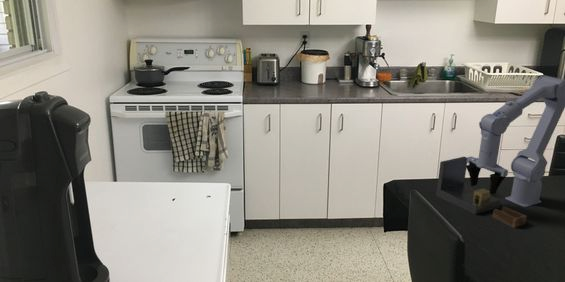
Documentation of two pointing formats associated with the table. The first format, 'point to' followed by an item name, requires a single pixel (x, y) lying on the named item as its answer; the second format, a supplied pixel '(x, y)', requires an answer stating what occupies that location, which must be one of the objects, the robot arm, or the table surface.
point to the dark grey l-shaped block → (460, 187)
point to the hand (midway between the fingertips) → (483, 189)
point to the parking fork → (509, 217)
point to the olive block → (481, 195)
